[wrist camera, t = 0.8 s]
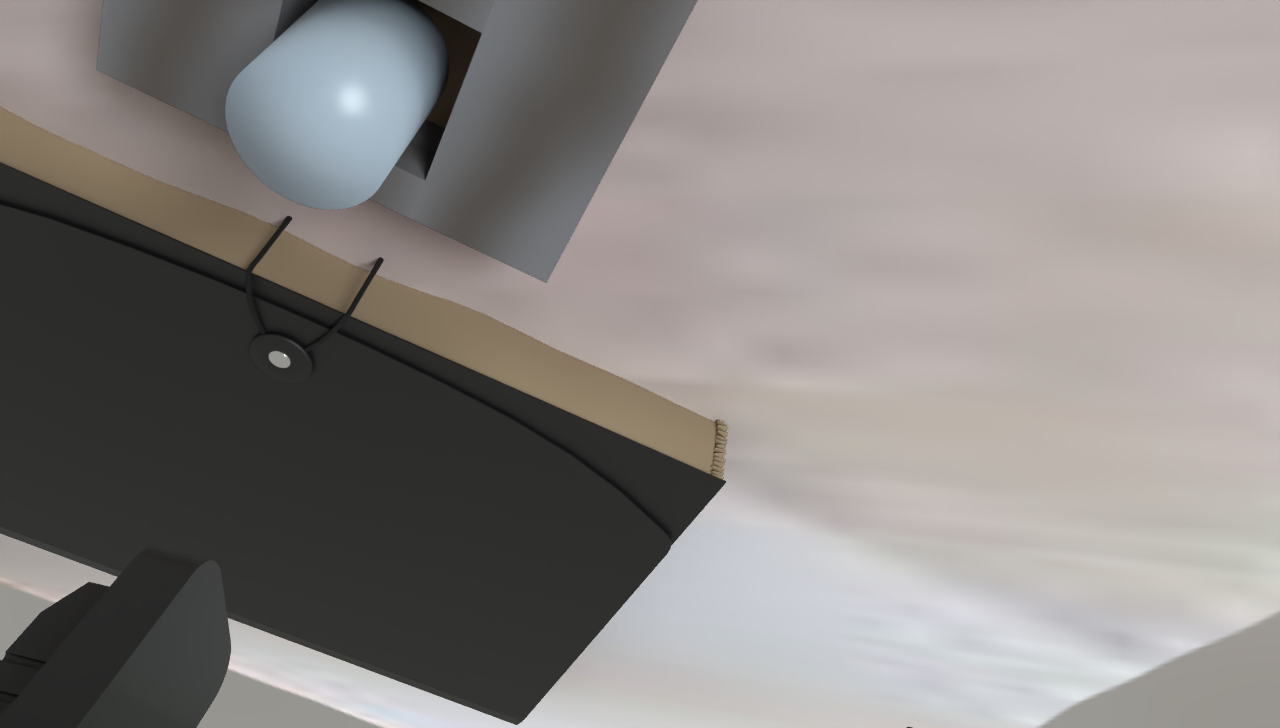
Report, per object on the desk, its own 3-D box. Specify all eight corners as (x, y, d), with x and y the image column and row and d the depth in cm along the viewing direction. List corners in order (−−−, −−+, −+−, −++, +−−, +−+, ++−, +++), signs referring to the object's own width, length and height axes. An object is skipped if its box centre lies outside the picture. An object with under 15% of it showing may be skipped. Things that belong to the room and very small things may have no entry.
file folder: (728, 487, 35) (507, 742, 51) (736, 410, 38) (525, 673, 54) (-227, 68, 29) (-147, 502, 45) (-127, 16, 32) (-85, 439, 48)
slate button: (294, 79, 28) (213, 164, 24) (327, -48, 25) (241, 25, 22) (424, 143, 29) (365, 234, 25) (468, 26, 26) (409, 108, 22)
